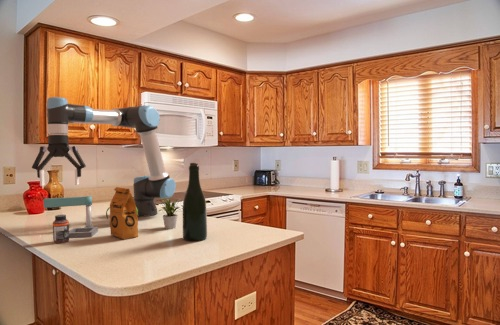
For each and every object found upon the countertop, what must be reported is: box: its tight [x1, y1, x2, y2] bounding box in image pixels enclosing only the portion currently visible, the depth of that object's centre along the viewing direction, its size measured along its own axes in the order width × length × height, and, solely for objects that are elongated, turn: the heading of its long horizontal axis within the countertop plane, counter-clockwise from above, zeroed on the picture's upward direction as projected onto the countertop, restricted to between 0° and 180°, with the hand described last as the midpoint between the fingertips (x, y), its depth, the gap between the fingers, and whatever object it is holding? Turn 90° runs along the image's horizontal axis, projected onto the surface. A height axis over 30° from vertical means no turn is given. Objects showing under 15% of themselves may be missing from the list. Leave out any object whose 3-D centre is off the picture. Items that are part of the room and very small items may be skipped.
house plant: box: [157, 197, 182, 230], centre depth 173 cm, size 14×14×16 cm
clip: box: [43, 195, 93, 209], centre depth 168 cm, size 21×3×4 cm, turn 111°
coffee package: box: [109, 186, 139, 240], centre depth 156 cm, size 10×12×22 cm
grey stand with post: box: [69, 205, 99, 239], centre depth 164 cm, size 11×18×12 cm, turn 10°
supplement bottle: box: [52, 214, 70, 244], centre depth 148 cm, size 6×6×11 cm
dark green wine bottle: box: [182, 162, 208, 242], centre depth 151 cm, size 10×10×33 cm
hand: (59, 185), depth 147 cm, fingers open, 13 cm apart
